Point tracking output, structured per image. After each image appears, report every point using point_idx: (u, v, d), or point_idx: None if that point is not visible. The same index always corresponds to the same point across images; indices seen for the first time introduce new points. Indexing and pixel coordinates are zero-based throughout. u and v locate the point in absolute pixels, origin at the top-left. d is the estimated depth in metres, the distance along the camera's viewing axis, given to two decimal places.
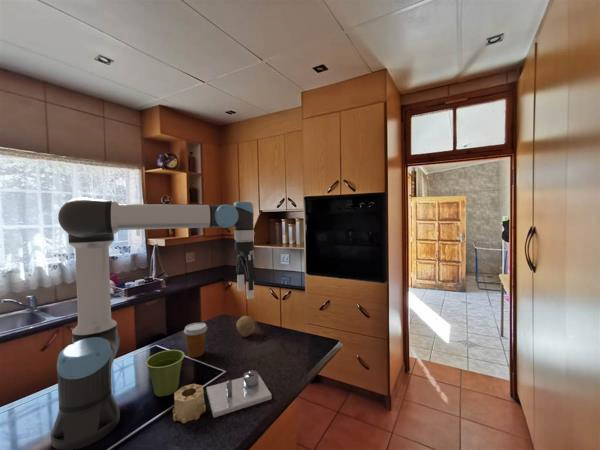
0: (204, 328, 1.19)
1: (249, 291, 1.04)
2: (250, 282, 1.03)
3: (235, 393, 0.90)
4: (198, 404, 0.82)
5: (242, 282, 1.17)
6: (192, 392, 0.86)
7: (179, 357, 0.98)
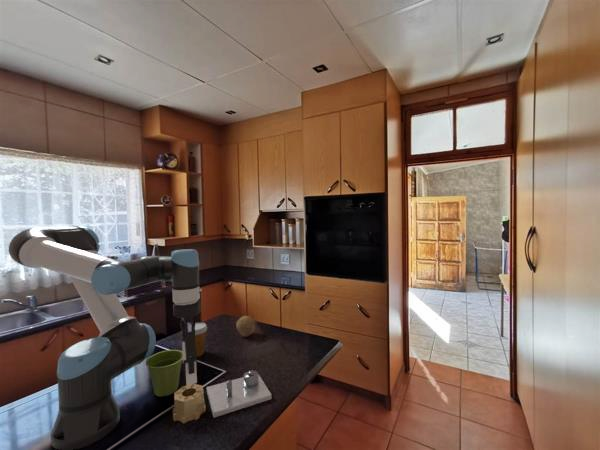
0: (204, 328, 1.19)
1: (189, 374, 0.77)
2: (190, 363, 0.76)
3: (235, 393, 0.90)
4: (198, 404, 0.82)
5: None
6: (192, 392, 0.86)
7: (179, 357, 0.98)
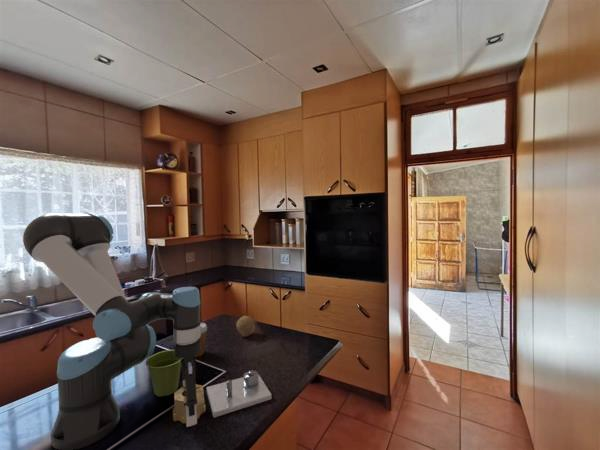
0: (204, 328, 1.19)
1: (190, 416, 0.78)
2: (190, 406, 0.77)
3: (235, 393, 0.90)
4: (198, 404, 0.82)
5: None
6: None
7: None
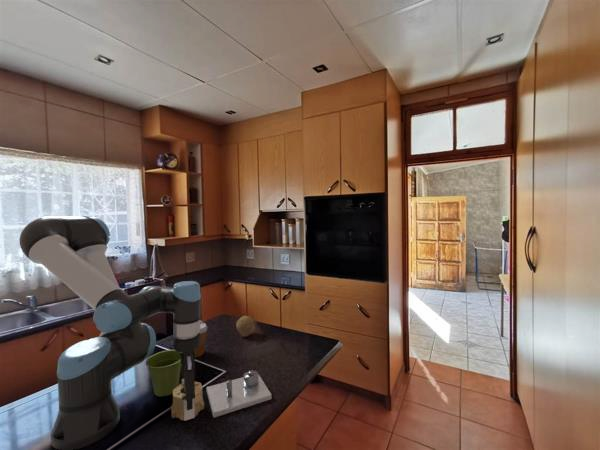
0: (204, 328, 1.19)
1: (187, 410, 0.79)
2: (188, 400, 0.78)
3: (235, 393, 0.90)
4: (196, 401, 0.82)
5: None
6: None
7: (179, 357, 0.98)
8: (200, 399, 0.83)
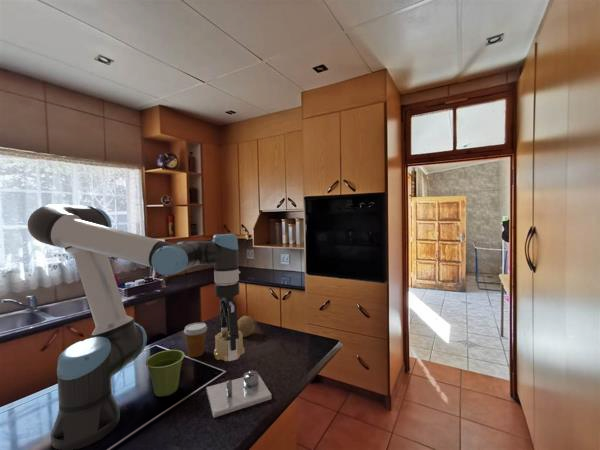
0: (204, 328, 1.19)
1: (231, 351, 0.84)
2: (232, 341, 0.83)
3: (235, 393, 0.90)
4: (238, 345, 0.87)
5: None
6: None
7: (179, 357, 0.98)
8: (241, 343, 0.88)
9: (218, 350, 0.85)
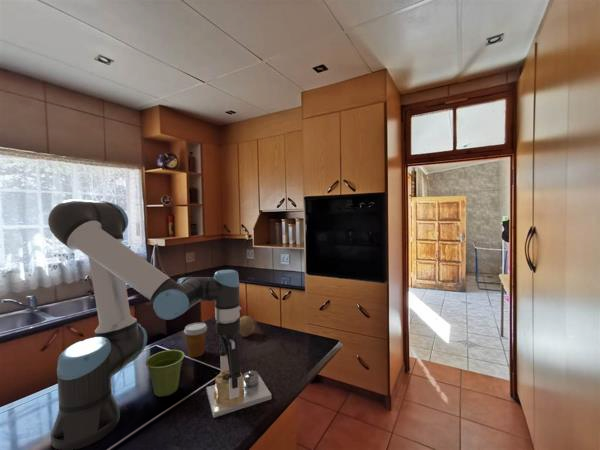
0: (204, 328, 1.19)
1: (233, 389, 0.82)
2: (234, 378, 0.81)
3: None
4: None
5: (226, 365, 0.95)
6: None
7: (179, 357, 0.98)
8: (241, 385, 0.89)
9: (218, 393, 0.86)
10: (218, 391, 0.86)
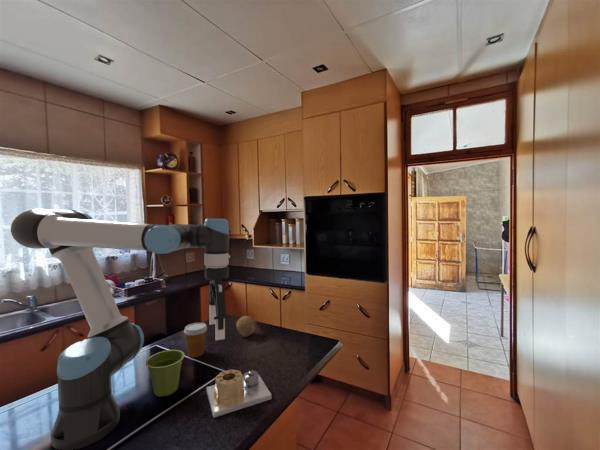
0: (204, 328, 1.19)
1: (218, 330, 0.84)
2: (220, 320, 0.83)
3: None
4: (238, 387, 0.87)
5: (215, 314, 0.97)
6: (231, 377, 0.91)
7: (179, 357, 0.98)
8: (241, 385, 0.89)
9: (218, 393, 0.86)
10: (218, 391, 0.86)
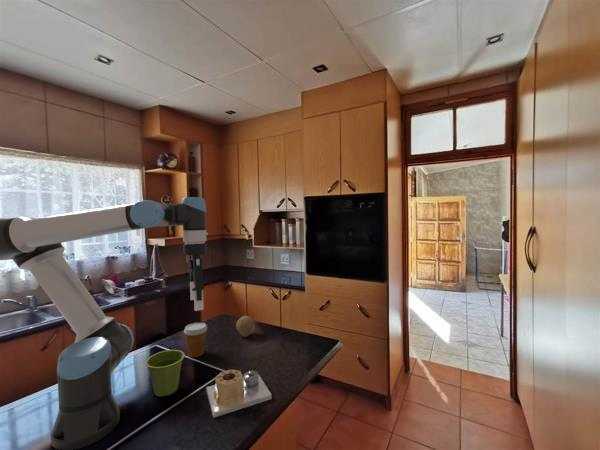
0: (204, 328, 1.19)
1: (197, 301, 0.89)
2: (198, 291, 0.88)
3: None
4: (238, 387, 0.87)
5: None
6: (231, 377, 0.91)
7: (179, 357, 0.98)
8: (241, 385, 0.89)
9: (218, 393, 0.86)
10: (218, 391, 0.86)
